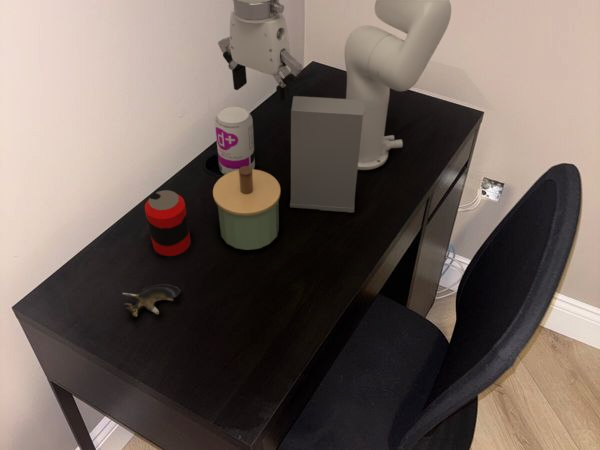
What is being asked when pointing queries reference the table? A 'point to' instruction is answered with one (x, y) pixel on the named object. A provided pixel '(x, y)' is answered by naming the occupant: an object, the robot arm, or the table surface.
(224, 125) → the supplement can
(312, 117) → the tall grey box
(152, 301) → the eagle figurine
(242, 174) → the lid
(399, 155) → the table surface
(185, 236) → the soda can
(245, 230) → the canister
